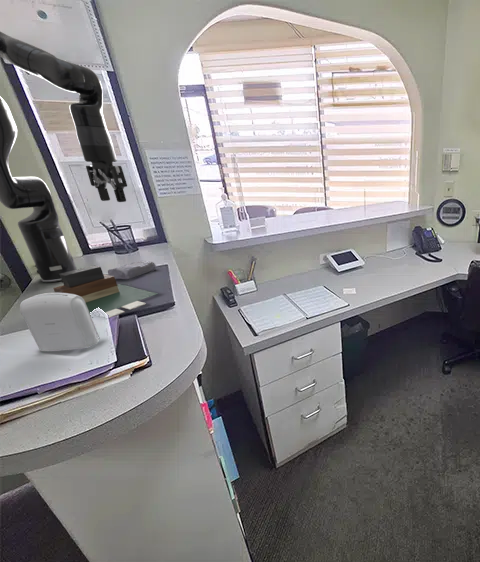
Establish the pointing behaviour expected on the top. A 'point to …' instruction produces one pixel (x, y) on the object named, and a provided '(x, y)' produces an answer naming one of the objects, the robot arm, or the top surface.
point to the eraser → (88, 283)
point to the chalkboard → (119, 298)
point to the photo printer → (59, 321)
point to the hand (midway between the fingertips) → (113, 201)
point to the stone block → (132, 270)
